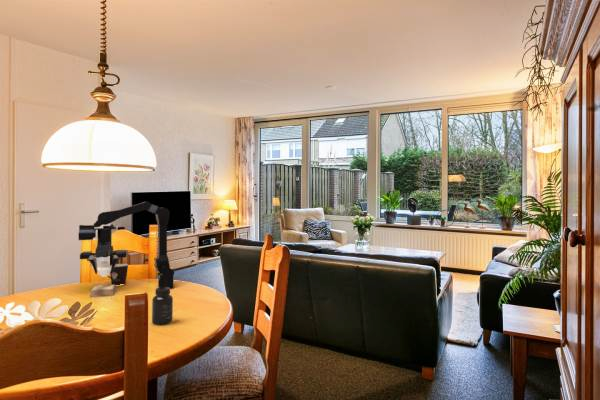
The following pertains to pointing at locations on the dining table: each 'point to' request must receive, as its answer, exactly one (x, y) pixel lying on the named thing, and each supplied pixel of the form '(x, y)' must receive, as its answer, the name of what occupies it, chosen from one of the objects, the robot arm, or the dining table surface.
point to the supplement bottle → (162, 306)
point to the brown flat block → (103, 290)
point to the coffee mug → (119, 274)
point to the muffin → (104, 269)
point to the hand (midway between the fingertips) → (104, 273)
